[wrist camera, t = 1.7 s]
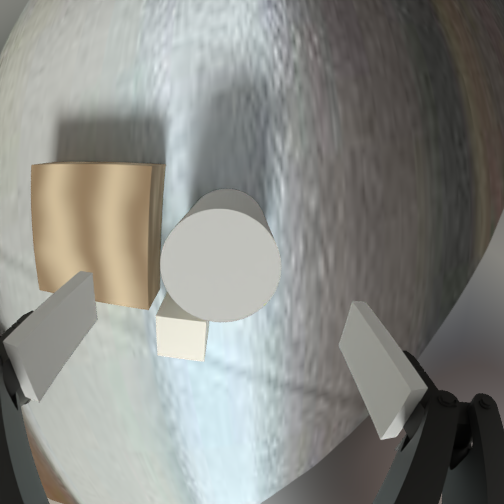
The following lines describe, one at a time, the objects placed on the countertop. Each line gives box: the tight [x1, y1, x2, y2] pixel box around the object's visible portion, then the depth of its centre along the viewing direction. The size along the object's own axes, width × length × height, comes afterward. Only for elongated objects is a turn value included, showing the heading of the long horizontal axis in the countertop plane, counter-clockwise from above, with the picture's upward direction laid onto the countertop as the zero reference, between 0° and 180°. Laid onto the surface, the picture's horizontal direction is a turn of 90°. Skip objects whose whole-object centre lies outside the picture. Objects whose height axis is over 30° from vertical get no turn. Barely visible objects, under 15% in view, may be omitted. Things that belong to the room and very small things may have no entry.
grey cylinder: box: [160, 189, 281, 322], centre depth 25 cm, size 8×8×12 cm
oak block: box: [31, 162, 166, 310], centre depth 28 cm, size 14×14×5 cm
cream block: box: [156, 291, 209, 361], centre depth 31 cm, size 5×5×6 cm
